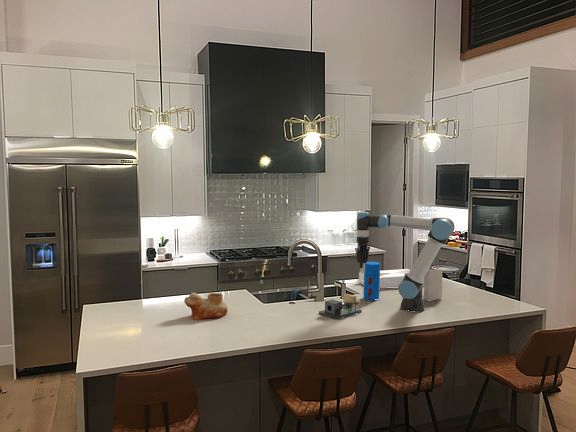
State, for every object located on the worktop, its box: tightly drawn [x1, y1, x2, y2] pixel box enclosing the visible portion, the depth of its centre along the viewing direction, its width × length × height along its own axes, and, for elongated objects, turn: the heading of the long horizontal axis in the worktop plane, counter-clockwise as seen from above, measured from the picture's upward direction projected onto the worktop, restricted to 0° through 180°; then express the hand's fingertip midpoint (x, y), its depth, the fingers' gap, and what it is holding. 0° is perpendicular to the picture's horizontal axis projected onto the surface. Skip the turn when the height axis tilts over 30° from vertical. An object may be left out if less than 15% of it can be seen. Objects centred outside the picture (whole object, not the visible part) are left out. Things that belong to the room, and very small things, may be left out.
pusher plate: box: [342, 293, 362, 308], centre depth 327 cm, size 12×16×8 cm
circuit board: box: [318, 298, 363, 320], centre depth 328 cm, size 15×23×8 cm, turn 132°
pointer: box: [346, 302, 352, 311], centre depth 323 cm, size 3×2×5 cm, turn 42°
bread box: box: [358, 268, 424, 288], centre depth 407 cm, size 45×22×10 cm, turn 109°
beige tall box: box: [423, 264, 443, 301], centre depth 364 cm, size 8×12×26 cm
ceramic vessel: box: [184, 292, 228, 321], centre depth 317 cm, size 14×26×15 cm, turn 111°
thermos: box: [362, 261, 381, 301], centre depth 363 cm, size 11×11×25 cm
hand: (362, 272), depth 338 cm, fingers closed
